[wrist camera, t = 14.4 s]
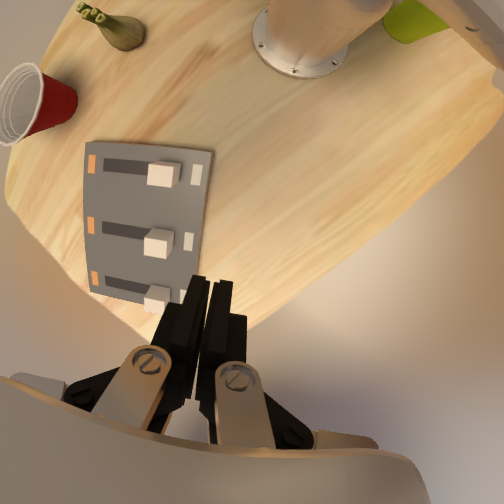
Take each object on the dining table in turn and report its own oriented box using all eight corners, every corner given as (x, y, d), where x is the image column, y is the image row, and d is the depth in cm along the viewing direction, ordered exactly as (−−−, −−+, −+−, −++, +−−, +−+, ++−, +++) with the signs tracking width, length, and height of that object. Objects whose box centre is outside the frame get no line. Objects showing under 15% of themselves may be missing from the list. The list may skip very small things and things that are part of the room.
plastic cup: (99, 69, 27) (49, 55, 17) (84, 139, 32) (32, 148, 21) (48, 73, 26) (-2, 68, 15) (37, 136, 31) (-14, 146, 20)
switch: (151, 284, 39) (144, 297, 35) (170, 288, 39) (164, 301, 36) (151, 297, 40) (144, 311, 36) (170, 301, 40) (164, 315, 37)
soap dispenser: (376, 32, 26) (460, -15, 7) (388, 5, 23) (464, -44, 5) (408, 55, 27) (503, 29, 8) (419, 26, 24) (504, -5, 6)
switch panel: (94, 141, 32) (85, 142, 30) (214, 151, 34) (211, 152, 31) (96, 284, 42) (89, 291, 40) (194, 304, 43) (191, 314, 41)
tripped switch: (153, 227, 35) (144, 237, 32) (174, 231, 35) (167, 241, 32) (152, 244, 36) (143, 255, 33) (172, 247, 36) (166, 259, 33)
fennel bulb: (112, 32, 25) (68, 7, 14) (142, 15, 24) (105, -17, 13) (121, 59, 27) (75, 40, 16) (152, 43, 27) (115, 14, 16)
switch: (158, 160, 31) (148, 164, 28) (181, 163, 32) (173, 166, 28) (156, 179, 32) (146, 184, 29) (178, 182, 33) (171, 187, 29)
